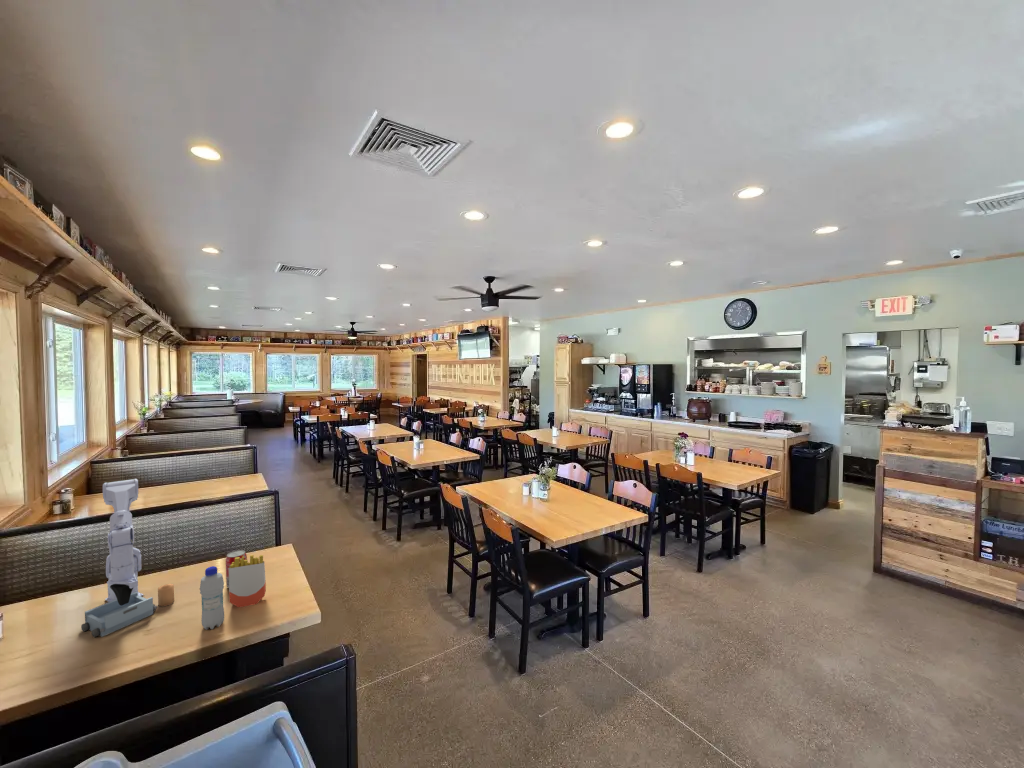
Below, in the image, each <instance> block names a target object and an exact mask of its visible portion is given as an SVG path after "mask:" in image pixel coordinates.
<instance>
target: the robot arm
mask: <svg viewBox="0 0 1024 768" xmlns="http://www.w3.org/2000/svg"><path fill="white" fill-rule="evenodd" d="M138 498H139V479H137V478H133V479H127V480H118V481H111V482H110V481H109V482H104V483H102V499H103V501H104V502H103V503H105V505H107V506H112V508H113V512H114V513H113V514H111V515H110V517H109V532H108V533H107V547H108V550H109V551H108V552H109V555H107V557H106V560H105V561H106V563H105V576H106V578H107V579H108V581H106V585H107V597H106V598H105V599H104V601H107V603H108V602H111V601H113V600H116V599H117V600H118V603H119V605H121V606H122V605H124V604H127V603H129V600H130V596H131V593H134V592H138V595H139V596H141V597H143V596H144V593H141V592H140V591H139V580H138V572H140V571H141V570H143V569H142V554H141V550H140V549H139V548H136V547H134V543H135V528H134V524H133V514H132V513H131V511H130V507H131V505H132V503H133V502H135V501H137V500H138Z"/></svg>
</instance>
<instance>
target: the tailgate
mask: <svg viewBox="0 0 1024 768" xmlns="http://www.w3.org/2000/svg"><path fill="white" fill-rule="evenodd" d="M153 599H154V598H153V597H152V596H151V597H148V598H146V600H143V601H141V602H138V603H136V604H134V605H131V606H129V607H126V608H124V609H121V610H119V611H117V612H114V613H112V614H109V615H107V616H104V619H105V629H108V628H110V627H113V626H115V625H117V624H120V623H122V622H124V621H126V620H129V619H131V618H133V617H136V616H138V615H140V614H143V613H145V612H147V611H149V610H152V609H153V604H154V602H153V601H154V600H153Z"/></svg>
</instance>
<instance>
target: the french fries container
mask: <svg viewBox="0 0 1024 768" xmlns="http://www.w3.org/2000/svg"><path fill="white" fill-rule="evenodd" d="M239 561H240V562H239ZM265 566H266V565H265V561H264V554H260V555H259V557H257V556H256V557H255V556H254V555H250V556H249V561H248V559H247V560H244V557H242V559H240V557H236V558H235V564H234V562H232V564H231V565H230V567H229V588H228V590H229V591H228V594H229V603H230V604H231V605H234V606H235V607H237V608H242V607H243V608H244V607H248V606H249V607H250V606H254V605H257V604H258V603H259V602H260V601H261V600H262V599H263V598H264V597H265V595H266V592H267V591H266V590H267V587H266V586H267V584H266V567H265Z"/></svg>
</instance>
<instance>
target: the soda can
mask: <svg viewBox="0 0 1024 768" xmlns="http://www.w3.org/2000/svg"><path fill="white" fill-rule="evenodd" d="M236 557H240V559H242V557H244V560H248V557H247V553H246V551H245V550H243V549H239V550H238V549H237V550H234V551H231V552H228V553H227V554H226V558H225V579H226V581H225V582H226V588H228V589H229V567H230V565H231V564H232V562H234V564H235V558H236ZM239 562H240V561H239Z"/></svg>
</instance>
